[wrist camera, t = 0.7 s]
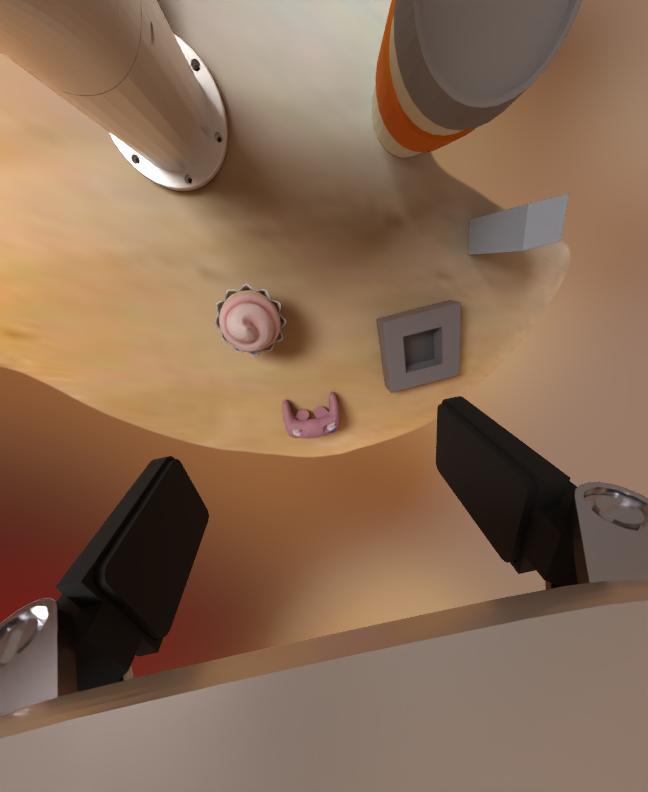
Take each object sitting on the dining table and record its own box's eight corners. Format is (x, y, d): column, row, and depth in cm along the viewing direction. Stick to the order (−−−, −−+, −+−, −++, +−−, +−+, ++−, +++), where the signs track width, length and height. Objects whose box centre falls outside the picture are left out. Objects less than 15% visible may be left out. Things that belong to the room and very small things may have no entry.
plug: (469, 219, 36) (528, 203, 27) (500, 211, 36) (569, 193, 27) (468, 254, 38) (522, 250, 29) (497, 247, 38) (560, 241, 29)
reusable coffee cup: (470, 144, 32) (597, 54, 19) (378, 196, 33) (435, 148, 20) (448, -5, 26) (608, -286, 13) (338, 65, 28) (381, -123, 14)
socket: (376, 319, 40) (382, 322, 38) (449, 300, 40) (461, 302, 38) (385, 385, 46) (390, 392, 43) (449, 368, 46) (459, 375, 43)
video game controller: (285, 412, 48) (287, 445, 44) (280, 398, 44) (282, 433, 40) (336, 403, 48) (344, 436, 44) (336, 388, 45) (344, 423, 40)
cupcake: (298, 326, 40) (300, 343, 31) (249, 357, 41) (237, 381, 32) (262, 268, 35) (252, 268, 27) (209, 304, 37) (182, 316, 28)
